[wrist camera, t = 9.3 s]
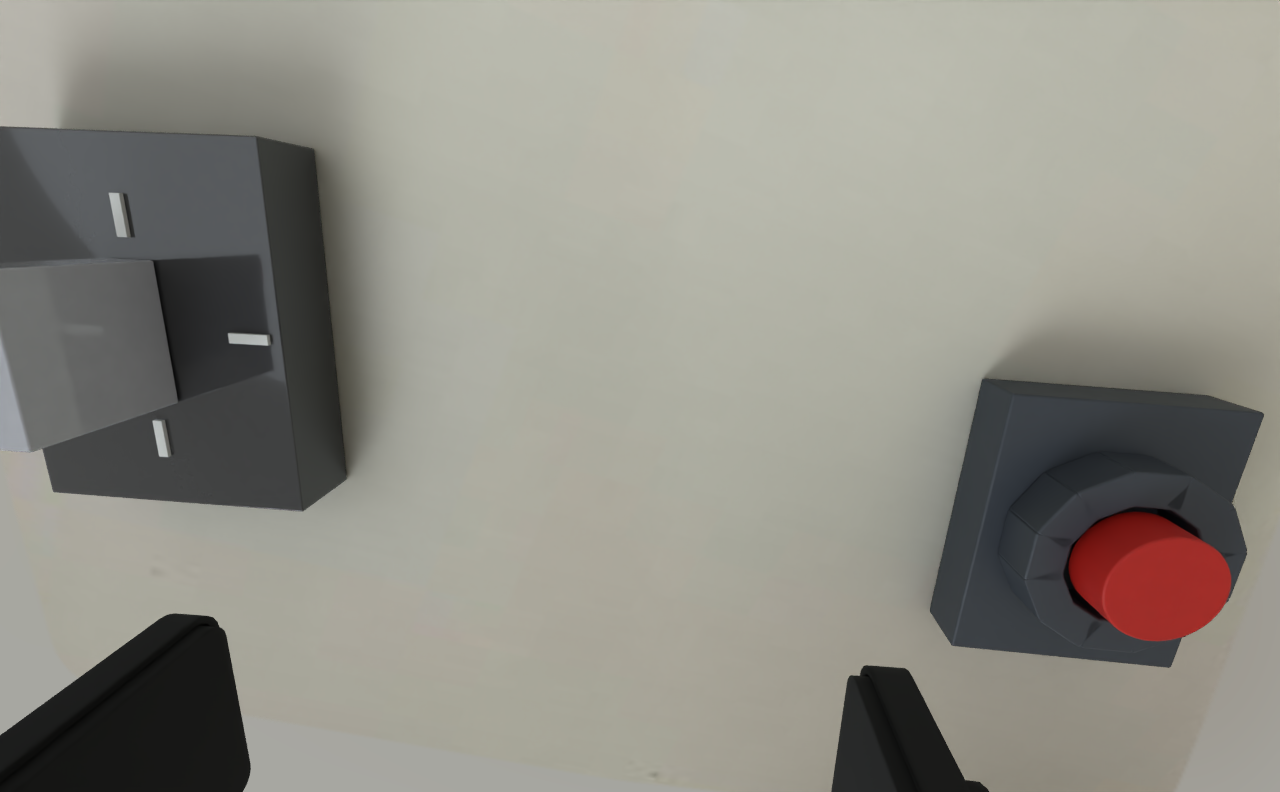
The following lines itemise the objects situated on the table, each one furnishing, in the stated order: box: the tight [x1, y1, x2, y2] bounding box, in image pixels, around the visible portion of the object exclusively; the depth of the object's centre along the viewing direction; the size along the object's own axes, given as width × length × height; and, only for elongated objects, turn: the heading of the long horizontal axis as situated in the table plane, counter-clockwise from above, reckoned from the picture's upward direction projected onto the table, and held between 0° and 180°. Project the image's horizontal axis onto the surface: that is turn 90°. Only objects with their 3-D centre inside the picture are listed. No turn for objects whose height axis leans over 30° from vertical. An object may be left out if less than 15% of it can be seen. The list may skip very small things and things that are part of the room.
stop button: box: [1068, 512, 1231, 641], centre depth 19 cm, size 4×4×2 cm
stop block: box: [930, 379, 1264, 668], centre depth 21 cm, size 10×8×4 cm
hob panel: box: [0, 126, 347, 511], centre depth 22 cm, size 13×10×3 cm
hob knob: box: [0, 258, 178, 452], centre depth 18 cm, size 5×2×5 cm, turn 178°
